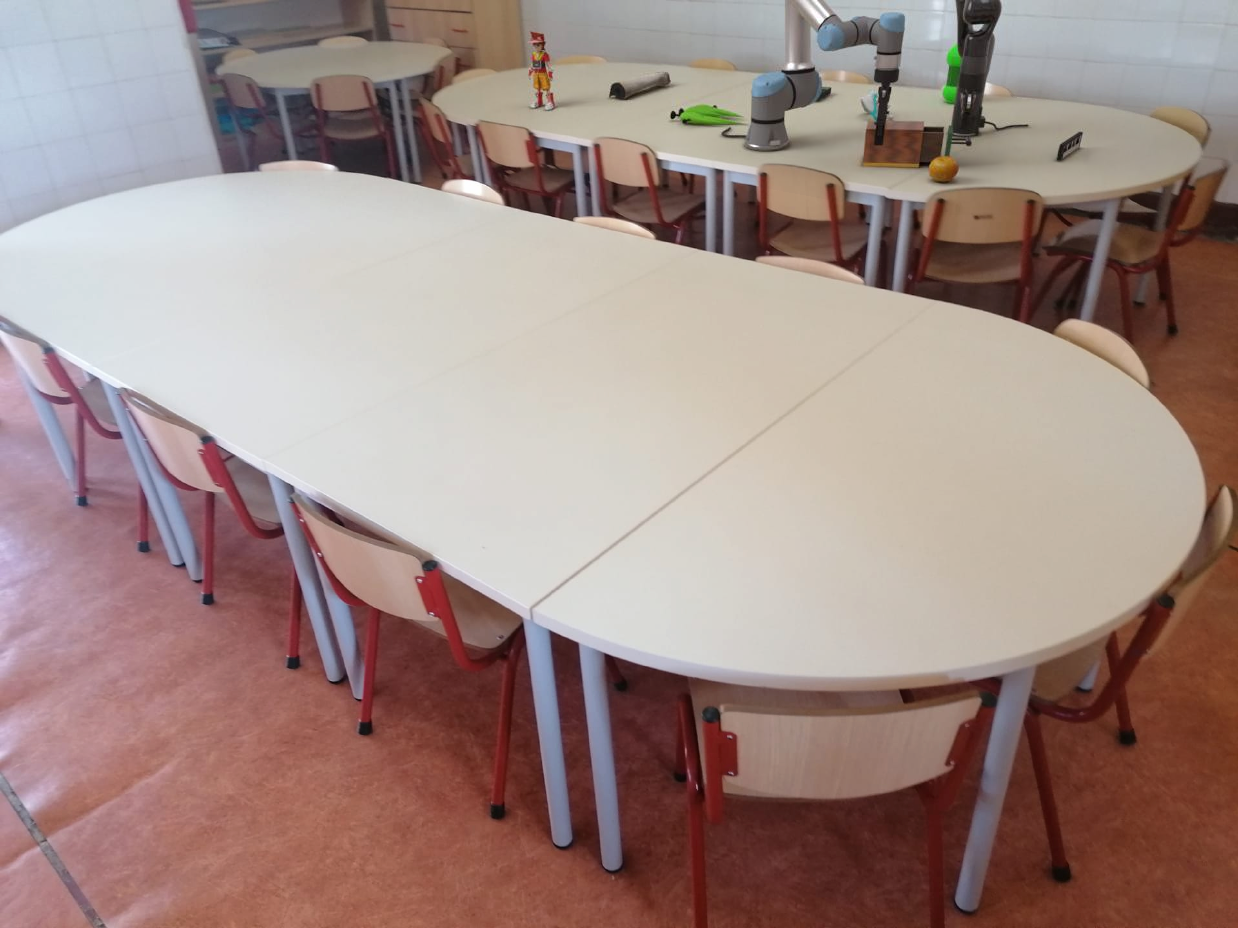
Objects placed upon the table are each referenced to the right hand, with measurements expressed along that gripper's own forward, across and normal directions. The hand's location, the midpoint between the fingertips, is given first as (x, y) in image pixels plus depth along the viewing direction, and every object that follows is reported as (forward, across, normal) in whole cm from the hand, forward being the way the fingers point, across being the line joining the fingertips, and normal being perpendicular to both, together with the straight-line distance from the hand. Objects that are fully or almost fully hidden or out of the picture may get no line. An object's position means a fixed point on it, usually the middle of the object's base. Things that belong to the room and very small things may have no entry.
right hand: (963, 128), depth 284 cm
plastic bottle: (+12, -82, 0) cm, 83 cm away
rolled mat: (+11, -93, -132) cm, 162 cm away
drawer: (+10, 0, -8) cm, 13 cm away
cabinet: (+11, 0, -21) cm, 24 cm away
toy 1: (+11, -64, -167) cm, 179 cm away
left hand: (+4, 0, -26) cm, 26 cm away
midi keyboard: (+12, -14, +34) cm, 39 cm away
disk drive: (+12, -88, -56) cm, 104 cm away
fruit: (+11, +18, -5) cm, 22 cm away
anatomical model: (+11, -58, -29) cm, 65 cm away
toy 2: (+11, -47, -91) cm, 102 cm away
